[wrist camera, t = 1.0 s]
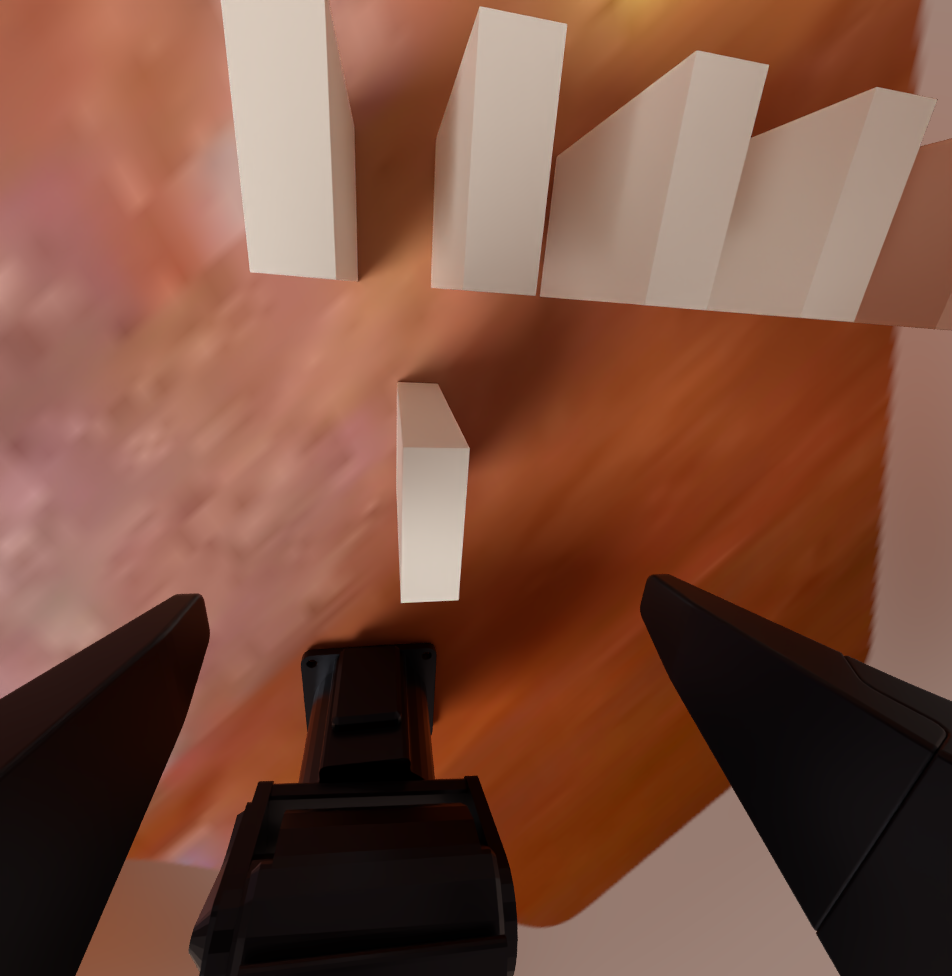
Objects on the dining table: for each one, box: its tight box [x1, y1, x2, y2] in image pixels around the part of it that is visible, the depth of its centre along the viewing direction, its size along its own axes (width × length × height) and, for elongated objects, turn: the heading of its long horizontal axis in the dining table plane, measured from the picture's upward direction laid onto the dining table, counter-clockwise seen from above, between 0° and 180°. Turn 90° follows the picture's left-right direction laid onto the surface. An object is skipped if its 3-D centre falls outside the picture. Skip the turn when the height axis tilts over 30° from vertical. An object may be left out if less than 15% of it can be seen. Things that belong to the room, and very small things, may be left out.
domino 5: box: [647, 87, 938, 322], centre depth 14 cm, size 4×2×8 cm, turn 176°
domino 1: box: [221, 0, 358, 282], centre depth 12 cm, size 4×2×8 cm, turn 176°
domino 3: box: [431, 6, 567, 296], centre depth 13 cm, size 4×2×8 cm, turn 176°
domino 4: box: [540, 50, 769, 310], centre depth 13 cm, size 4×2×8 cm, turn 176°
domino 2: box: [396, 382, 470, 603], centre depth 15 cm, size 4×2×8 cm, turn 176°
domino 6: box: [732, 139, 952, 330], centre depth 15 cm, size 4×2×8 cm, turn 176°
